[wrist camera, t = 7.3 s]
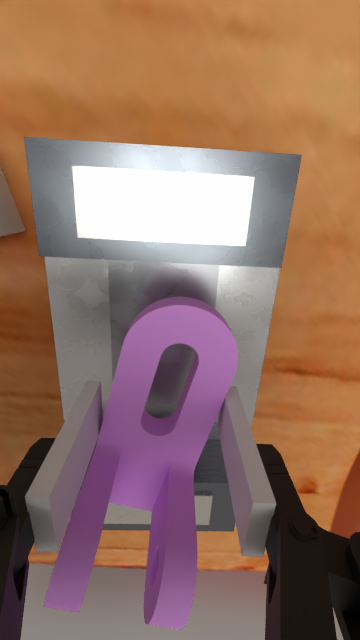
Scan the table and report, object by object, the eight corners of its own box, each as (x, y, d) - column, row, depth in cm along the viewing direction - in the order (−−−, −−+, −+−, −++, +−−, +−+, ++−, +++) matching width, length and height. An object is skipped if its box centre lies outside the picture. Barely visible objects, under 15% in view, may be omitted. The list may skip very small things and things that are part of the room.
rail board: (75, 475, 26) (52, 536, 21) (39, 146, 16) (-18, 118, 12) (238, 478, 26) (252, 538, 21) (292, 162, 17) (340, 142, 12)
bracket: (174, 494, 18) (171, 648, 12) (89, 476, 18) (38, 627, 11) (249, 314, 14) (309, 400, 8) (140, 282, 13) (105, 345, 7)
